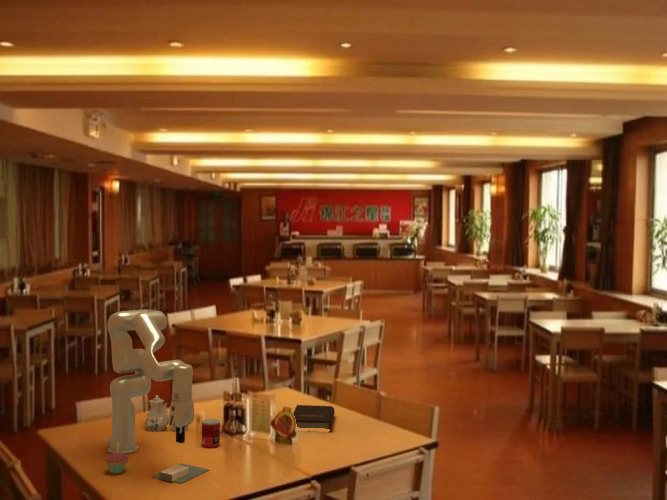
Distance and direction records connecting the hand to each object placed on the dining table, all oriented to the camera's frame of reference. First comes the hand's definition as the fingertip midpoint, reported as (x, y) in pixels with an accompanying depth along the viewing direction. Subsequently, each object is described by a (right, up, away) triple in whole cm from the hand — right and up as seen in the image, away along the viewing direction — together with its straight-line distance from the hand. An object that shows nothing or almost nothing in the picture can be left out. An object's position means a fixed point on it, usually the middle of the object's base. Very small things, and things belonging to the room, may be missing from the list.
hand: (180, 442), depth 276 cm
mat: (+1, -12, -1) cm, 12 cm away
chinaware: (-22, -10, +61) cm, 65 cm away
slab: (+1, -10, -1) cm, 11 cm away
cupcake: (-25, -12, 0) cm, 27 cm away
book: (+50, -11, +72) cm, 89 cm away
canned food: (+6, -11, +35) cm, 37 cm away
